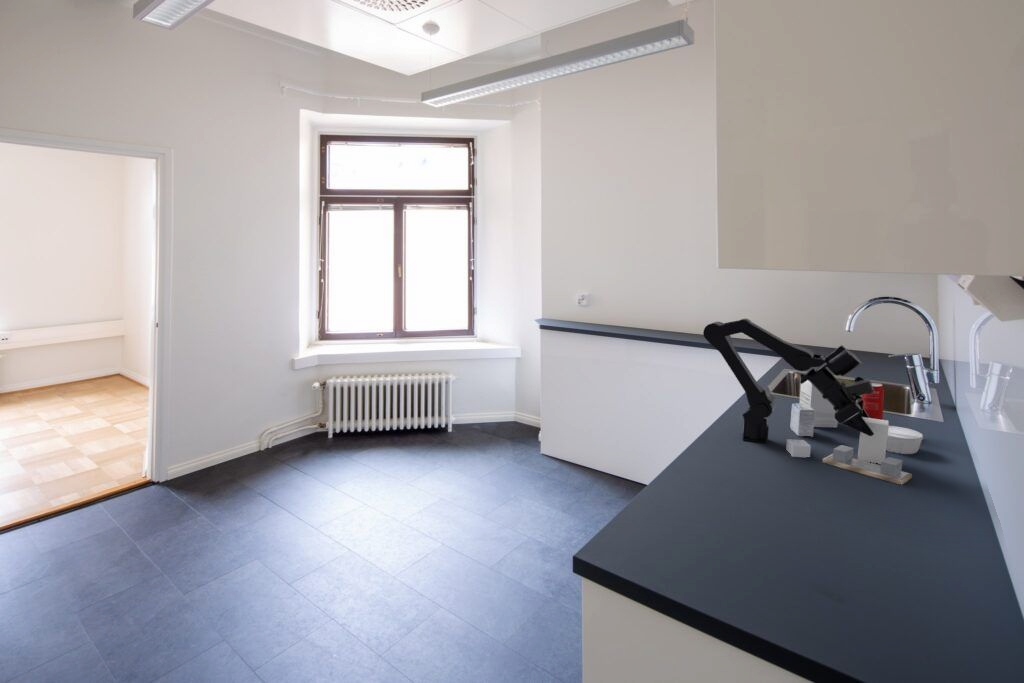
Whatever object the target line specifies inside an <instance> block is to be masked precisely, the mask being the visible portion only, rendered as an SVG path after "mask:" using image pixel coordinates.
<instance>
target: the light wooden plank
mask: <svg viewBox="0 0 1024 683" xmlns="http://www.w3.org/2000/svg"><path fill="white" fill-rule="evenodd" d="M830 455H831V454H830ZM828 456H829V455H828ZM826 457H827V456H826ZM826 459H827V460H831V461H835V462H838V463H842V464H845V465H849V466H852V467H856V468H860V469H863V470H867V471H870V472H874V473H877V474H881V475H885V476H888V477H892V478H895V479H899V480H901V479H903V478H904V477H905V476H907V475H908V474H909V472H906V471H903V470H901V472H900V473H899V474H897V475H896V476H894V477H893V476H890V475H886V474H883V473H880V469H881V464H876V463H870V462H865V461H862V460H858V458H853V459H851V460H849V461H847V462H846V463H843V462H840V461H836V460H832V459H833V455H831V456H829V457H827V458H826Z"/></svg>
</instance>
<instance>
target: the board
mask: <svg viewBox="0 0 1024 683" xmlns="http://www.w3.org/2000/svg"><path fill="white" fill-rule="evenodd" d="M831 455H833V453H831V454H830V455H827V456H825V457H823V458H822V463H824V464H826V463H827V465H831V466H834V467H838V468H840V469H844V470H848V471H852V472H855V473H859V474H862V475H864V476H869V477H872V478H876V479H879V480H883V481H886V482H890V483H893V484H898V485H900V484H901V485H900V486H903V485H904V484H905V483H907V482H908V481H909V480H911V479H912V478H913V474H912V473H909V472H908V473H909V474H908V475H907V476H905V477H904V478H903V479H901V480H899V479H895V478H892V477H888V476H885V475H881V474H877V473H874V472H870V471H867V470H863V469H860V468H856V467H852V466H849V465H845V464H842V463H838V462H835V461H831V460H827V459H826V458H827V457H829V456H831ZM902 484H903V485H902Z"/></svg>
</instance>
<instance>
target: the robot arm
mask: <svg viewBox="0 0 1024 683" xmlns="http://www.w3.org/2000/svg"><path fill="white" fill-rule="evenodd" d="M702 334H703V335H702V336H703V337H704V339H705V340H706V341H707V342H708V343H709V344H710V345H711V347H713V348H714V349H716V351H718V352H719V353H720V354H721V356H722V357H723V359H724V361H725V362H726V364H727V365H728V367H729V369H730V370H731V372H732V373H733V375H734V376H735V378H736V379H737V380H736V381H737V382H738V383H739V385H740V386H741V387H742V389H743V390H744V393H745V396H746V399H747V403H748V405H749V407H748V408H747V409H746V410H745V411H744V413H743V414H742V417H743V428H742V436H741V437H742V439H741V440H743V441H747V442H756V443H767V440H768V439H769V424H768V421H767V420H768V419H767V418H768V417H770V416H771V415H772V413H773V412H774V410H775V409H776V404H777V403H776V401H775V400H776V399H777V398H776V397H775V396H774V395H773V394H772V392H771V390H770V388H769V387H768V386H767V387H765V388H763V387H762V386H761V385H760V384H759V383H758V382H757V380H756V379H755V377H754V376H753V374H752V372H751V371H750V370H749V368H748V366H747V365H746V364H745V362H744V360H743V359H742V357H741V356H740V354H739V353H738V350H737V349H736V348H735V346H734V344H733V341H732V338H731V336H733V335H736V334H744V335H746V336H747V337H749V338H750V339H752V340H754V341H755V342H758V344H761V345H763V346H764V347H766V348H767V349H769V350H771V351H773V352H774V353H776V354H777V355H779V356H780V357H781V358H782V359H783V360H784V361H785V362H786V363H787V364H788V365H789V366H791V367H792V368H793V369H794V370H796V371H799V372H801V373H800V374H799V375H800V382H799V383H800V385H801V384H803V383H804V382H806V381H807V380H808V381H809V382H810V383H811V384H812V385H813V386H814V387H815V388H816V389H817V390H818V391H819V392H820V393H821V394H822V397H823V398H824V399H827V400H828V401H829V402H830V403H831V404H832V405H833V406H834V407H833V409H834V410H835V419H836V420H837V421H838V424H842V426H843V425H845V426H847V427H848V428H851V429H853V430H856V431H859V433H860V432H862V433H864V434H866V435H869V436H872V435H874V433H873V431H872V430H871V429H870V427H869V426H868V424H867V423H866V421H865V420H864V419H863V417H866V418H870V417H869V416H868V414H867V413H866V411H865V409H864V408H863V398H862V395H863V394H866V393H867V394H870V393H873V392H874V389H873V386H872V384H871V383H872V382H871V380H870V378H868V377H867V378H864V377H863V376H862V375H858V376H856V377H854V381H852V382H851V383H847V384H846V383H845V382H844V381H841V380H839V379H838V378H837V377H836V376H842V377H845V375H847V374H849V373H851V371H853V370H854V369H856V368H857V367H859V366H860V365H862V361H861V360H860V359H859V358H858V356H856V354H855V353H853V352H852V351H850V350H849V349H847V348H846V347H845V346H843V344H842V345H841V344H840V345H839V346H838V347H837V348H836V349H835V350H834V351H832V352H831V353H830V354H828V355H823V354H819V353H818V354H817V353H814V352H813V350H811V349H809V348H805V347H803V346H800V345H797V344H794V343H790V342H789V341H786V340H783V339H782V338H780V337H778V336H777V335H775V334H773V333H772V332H770V331H768V330H766V329H764V328H763V327H761V326H759V325H758V324H756V323H755V322H753V321H751V320H750V319H748V318H741V319H739V320H734V321H729V322H725V323H724V322H721V321H714V322H712V323H709V324H706V326H705V327H704V329H703V332H702ZM808 370H809V371H808ZM806 371H807V372H806ZM804 372H805V373H804ZM858 399H859V400H858Z"/></svg>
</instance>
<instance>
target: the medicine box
mask: <svg viewBox="0 0 1024 683" xmlns="http://www.w3.org/2000/svg"><path fill="white" fill-rule="evenodd" d="M814 418H815V410H814V409H812V408H811V407H810V406H808V405H807V404H801V403H800V402H797V403H792V404H791V413H790V427H789V428H791V429H790V430H791V431H792V432H793V433H794V434H795V435H797V437H803V436H811V437H810V438H813V437H814V429H815V427H814Z"/></svg>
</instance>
